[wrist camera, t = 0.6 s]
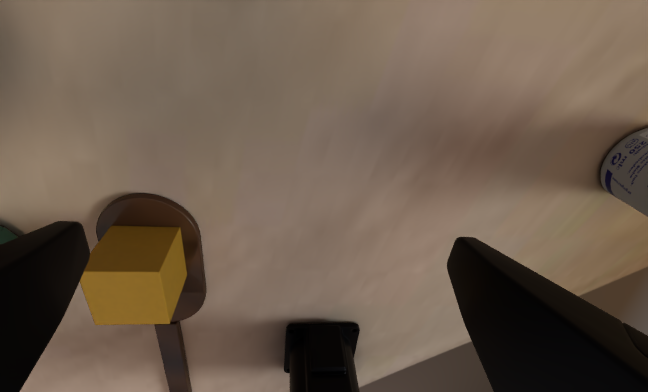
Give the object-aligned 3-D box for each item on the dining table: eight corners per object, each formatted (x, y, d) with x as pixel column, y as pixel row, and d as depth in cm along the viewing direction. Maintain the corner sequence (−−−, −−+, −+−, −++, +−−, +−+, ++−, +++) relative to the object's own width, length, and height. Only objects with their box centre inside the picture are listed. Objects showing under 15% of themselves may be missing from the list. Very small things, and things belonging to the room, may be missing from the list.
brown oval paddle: (217, 391, 34) (216, 399, 33) (147, 394, 33) (144, 402, 33) (196, 194, 23) (193, 201, 22) (89, 191, 22) (82, 197, 21)
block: (187, 275, 25) (170, 324, 22) (124, 274, 25) (94, 325, 21) (180, 226, 23) (159, 272, 19) (110, 225, 23) (75, 271, 19)
